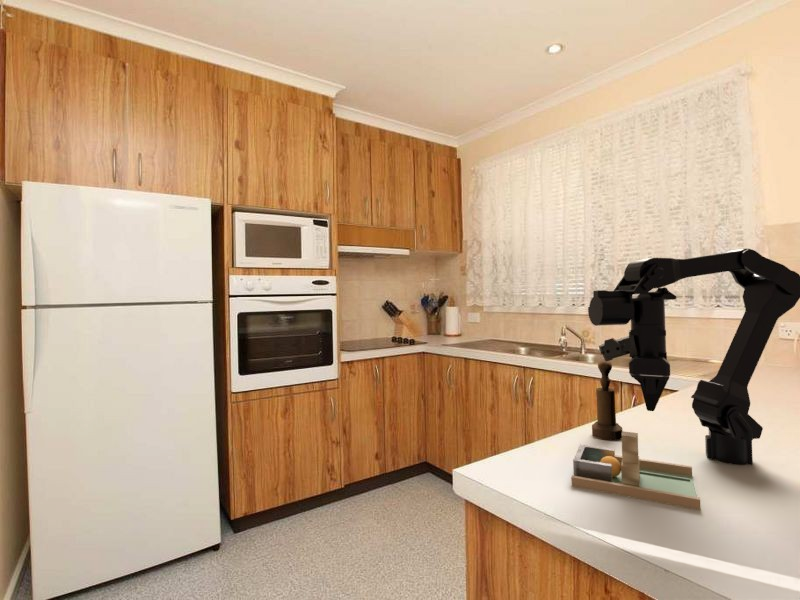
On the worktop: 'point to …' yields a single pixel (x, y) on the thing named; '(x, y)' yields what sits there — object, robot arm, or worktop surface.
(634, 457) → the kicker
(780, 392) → the worktop surface
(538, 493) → the worktop surface
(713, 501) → the worktop surface
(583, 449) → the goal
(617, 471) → the ball
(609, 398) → the pepper mill
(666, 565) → the worktop surface
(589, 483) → the pitch
